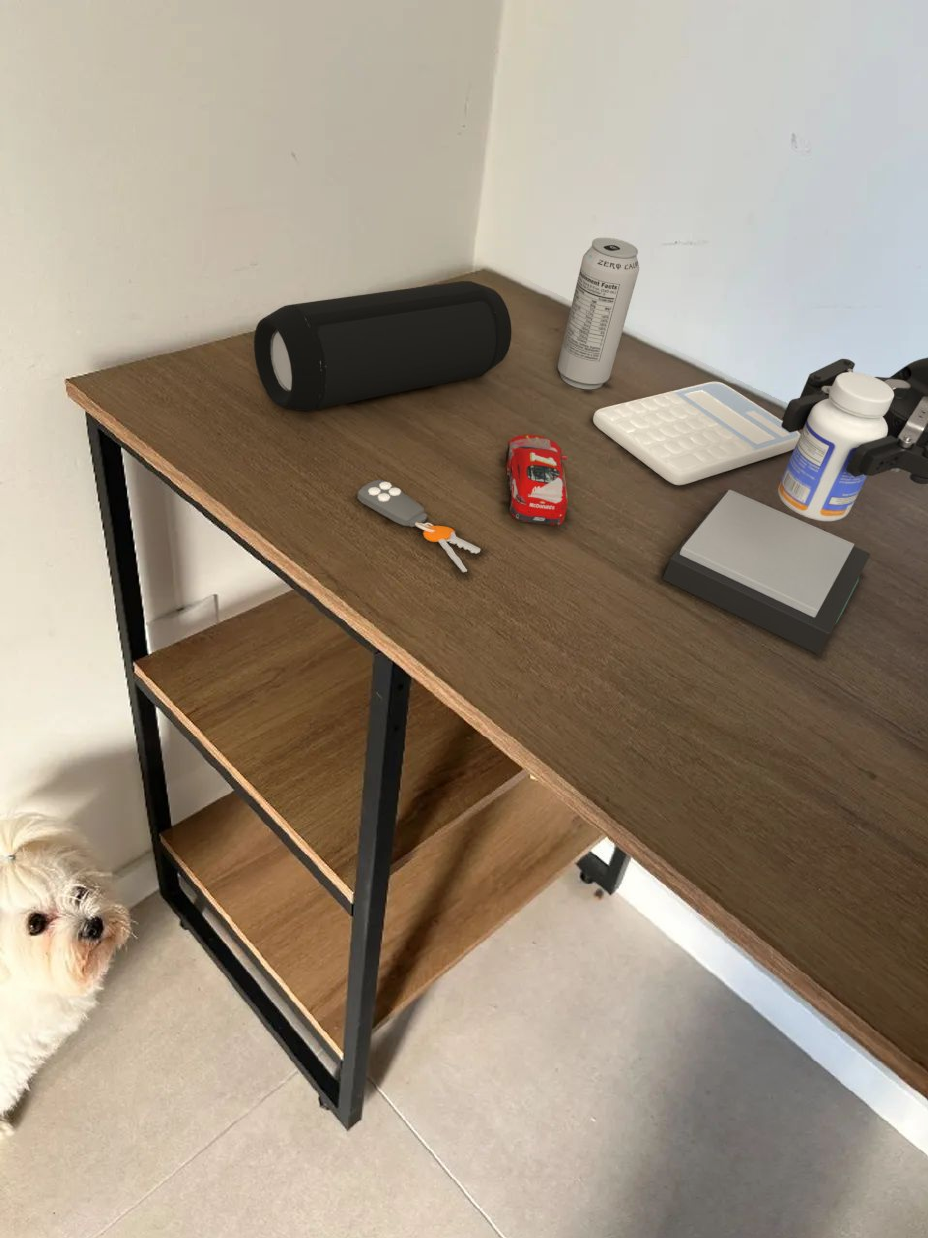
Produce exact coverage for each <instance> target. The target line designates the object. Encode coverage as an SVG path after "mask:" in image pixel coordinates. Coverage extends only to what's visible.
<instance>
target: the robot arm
mask: <svg viewBox="0 0 928 1238" xmlns="http://www.w3.org/2000/svg"><path fill="white" fill-rule="evenodd" d="M855 366H856V363H855V362H854V361H852V360H851V359H849V358H840V359H838V360H836V361H834V362H831V363H829V364H828V365H825V366H823V367H821V368H819V369H817V370H815V371H812V372H811V373H809V375H808V377H807V379H806V382H805V384H804V386H803V389H802V391H801V394H800V395H799V397H797V398H792V399H791V400H789V402H788V404H787V407H786V409H785V410H784V413H783V416H782V418H781V420H782V421H783V422H782V425H781V426H782V428H784V429H785V430H786V431H788V432H790V433H791V432H795V431H798V432H799V431H802V430H803V428H804V425H805V423H806V421H807V418H808V416H809V414H810V412H811V410H812V408H813V407H814V406H815V405H816V404H817V403H819V402H820V401H822V400H825V399H829V391H830V389H831V387H832V385H833V383H834V381H835V379H836V377H837V376H838V375H840V374H842V373H846V372H854V368H855ZM874 377H875V378H877V379H879V380H881V381H883V382H884V383H886V384H887V385H888V386H889V387H890V388H891V389H892V390H893V392H894V398H893V400H892V402H891V404H890V407H889V409H888V411H887V412H886V414H885V415H884V416H882V417H883V418H884V419H885V421H886V423H887V426H888V433H887V436H886V437H884V438H881V439H877V440H874V441H871V442H867V443H864V444H861V445H860V446H858V447H857V448H856V450H855V451H854V453H853V455H852V458H851V460H850V462H849V464H848V466H847V468H846V471H847V472H848V473H850V474H851V475H852V476H854V477H857V476H860V475H863V474H864V475H865V476H867V477H868V476H870V477H871V476H876V475H878V474H880V473H885V472H887V471H889V472H891V473H896V474H897V473H900V472H901V471H903V470H904V471H906V472H908V473H910V475H909V476H908V477H909V480H911V481H912V482H913V483H916V484H917V485H918V484H919V485H927V484H928V357H924V358H919V359H917V360H914V361H912V362H909V363H908V364H907V365H905V366H904V367H902V368H901V369H899V370H898V371H897V372H895V373H894V374H893V375H891V376H888V377H887V376H885V377H883V376H874Z"/></svg>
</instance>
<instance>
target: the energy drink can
mask: <svg viewBox="0 0 928 1238" xmlns="http://www.w3.org/2000/svg"><path fill="white" fill-rule="evenodd" d="M638 253H639V250H638V248H637V247H636V246H635V245H634V244H632V243H630V242H628V241H626V240H623V239H619V238H614V237H605V236H604V237H596V238H593V240H592V242H591V246H590V247H589V249H587V250H586V252H585V253H584V254H583V256H582V259H581V264H580V268H579V272H578V276H577V280H576V285H575V289H574V293H573V297H572V302H571V306H570V310H569V315H568V320H567V324H566V328H565V332H564V337H563V341H562V345H561V349H560V354H559V357H558V363H557V369H558V371H559V373H560V378H561V380H562V381H563V382H565V383H566V384H568V385H569V386H572V387H573V388H577V389H582V390H597V389H599V388H601V387H602V386H603V385H604V383H607V381H608V380H609V379H610V378H611V374H612V370H613V367H614V363H615V359H616V355H617V351H618V348H619V345H620V341H621V337H622V335H623V331H624V327H625V323H626V319H627V317H628V312H629V308H630V305H631V301H632V299H633V293H634V291H635V286H636V283H637V280H638V276H639V273H640V264H639V261H638Z"/></svg>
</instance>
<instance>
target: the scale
mask: <svg viewBox="0 0 928 1238" xmlns="http://www.w3.org/2000/svg"><path fill="white" fill-rule="evenodd" d="M870 556H871V552H868V551H866V550H863V549H861V548H858V547H857V546H855V543H853V542H851V541H849V540H846V539H844V538H842V537H840V536H837V535H836V534H832V533H831V532H828V531H825V530H823V529H821V528H818V527H817V526H814V525H812V524H810V523H807V522H806V521H803V520H800V519H798V518H796V517H793V516H792V515H789V514H787V513H784V512H783V511H780V510H778V509H775V508H773V507H771V506H768V505H767V504H764V503H763V502H759V501H757V500H755V499H753V498H750V497H748V496H746V495H743V494H741V493H740V492H737V491H734V490H732V489H728V490H725V491H724V492H723V493H722V495H721V496H720V498H719V499H718V500H716V502H715V503H714V504H713V506H711V508H710V509H709V511H708V512H707V513H706V514H705V516H704V517H703V518H702V519H701V520H700V521H699V523H698V524H697V525H696V527H694V529H692V531H691V533H689V535H688V536H687V538H686V539H684V541H683V542H682V544H680V546H679V547H678V548H677V550H676V551H675V552H674V553H673V555H672V556H671V557H669V561H668V563H667V566H666V569H665V571H664V573H663V576H662V581H664V582H666V583H668V584H670V585H672V586H674V587H676V588H679V589H680V590H683V591H685V592H686V593H687V592H688V594H691V595H693V596H695V597H697V598H699V599H702V600H703V601H706V602H708V603H710V604H712V605H714V606H716V607H718V608H720V609H722V610H724V611H727V612H728V613H731V614H732V615H735V616H737V617H738V618H741V619H742V620H745V621H747V622H749V623H751V624H753V625H755V626H757V627H760V628H761V629H764V630H766V631H768V632H770V633H772V634H774V635H776V636H778V637H781V638H782V639H784V640H786V641H788V642H791V643H793V644H794V645H797V646H799V647H800V648H803V649H805V650H806V651H808V652H811V653H814V655H815V654H816V655H818V656H819V655H820V653H821V651H822V650H823V649H824V646H825V644H826V643H827V641H828V639H829V637H830V636H831V634H832V632H833V629H834V628H835V625H836V624H837V623H838V621H839V620H840V617H842V614H843V612H844V610H845V609H846V606H847V604H848V602H849V600H850V599H851V596H852V594H853V593H854V590H855V589H856V586H857V585H858V583H859V581H860V576H861V574H862V572H863V570H864V568H865V566H866V565H867V563H868V560H869V559H870Z"/></svg>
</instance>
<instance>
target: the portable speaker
mask: <svg viewBox="0 0 928 1238" xmlns="http://www.w3.org/2000/svg"><path fill="white" fill-rule="evenodd" d="M512 334H513V333H512V321H511V316H510V312H509V309H508V307H507V304H506V302H505V301H504V299H503V297H502V296H501V295H500V294H499V292H497V291H496V290H495V289H494V288H491V287H489V286H487V285H484V284H481V283H477V282H474V281H472V280H460V281H454V282H453V281H452V282H446V283H445V282H444V283H439V284H432V285H430V284H429V285H424V286H416V287H411V288H410V287H409V288H403V289H402V288H401V289H394V290H386V291H379V292H373V293H365V294H357V295H350V296H344V297H338V298H337V297H335V298H329V299H320V300H315V301H307V302H301V303H300V302H299V303H292V304H286V305H283V306H281V307H280V308H278V309H276V310H274V311H273V312H271V313H270V314H267V315H266V316H265V317H262V319H260V320H259V322H258V323H257V325H256V328H255V331H254V337H253V350H254V352H253V353H254V359H255V364H256V369H257V373H258V376H259V380H260V382H261V384H262V387H263V389H264V391H265V393H266V394H267V396H268V397H269V399H270V400H271V401H272V402H273V403H274V404H275V405H277V406H278V407H281V408H286V409H290V410H296V411H301V412H311V411H312V412H313V411H316V410H321V409H325V408H331V407H335V406H340V405H344V404H345V405H346V404H350V403H354V402H358V401H362V400H363V401H364V400H367V399H373V398H378V397H382V396H387V395H392V394H397V393H402V392H406V391H413V390H416V389H422V388H428V387H431V386H439V385H444V384H449V383H454V382H458V381H463V380H468V379H473V378H477V377H482V376H484V375H485V374H487V373H488V372H490V371H491V370H492V369H494V368H495V367H496V366H498V365H499V364H500V363H501V362H502V361H503V360H504V359H505V358H506V356H507V355H508V352H509V350H510V347H511V342H512Z"/></svg>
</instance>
